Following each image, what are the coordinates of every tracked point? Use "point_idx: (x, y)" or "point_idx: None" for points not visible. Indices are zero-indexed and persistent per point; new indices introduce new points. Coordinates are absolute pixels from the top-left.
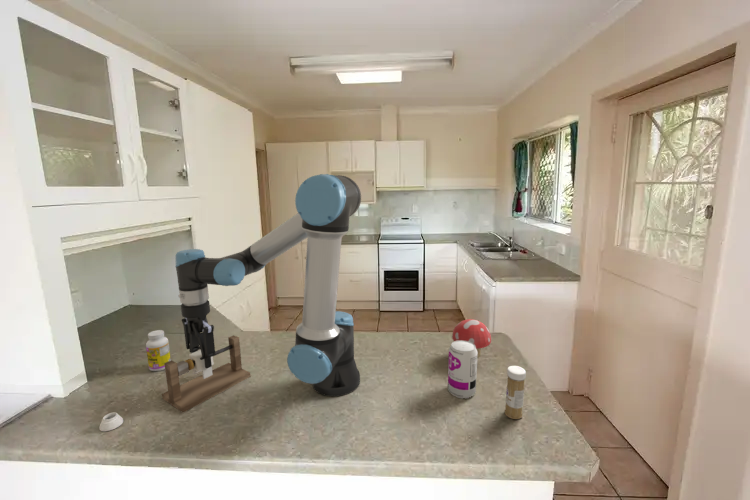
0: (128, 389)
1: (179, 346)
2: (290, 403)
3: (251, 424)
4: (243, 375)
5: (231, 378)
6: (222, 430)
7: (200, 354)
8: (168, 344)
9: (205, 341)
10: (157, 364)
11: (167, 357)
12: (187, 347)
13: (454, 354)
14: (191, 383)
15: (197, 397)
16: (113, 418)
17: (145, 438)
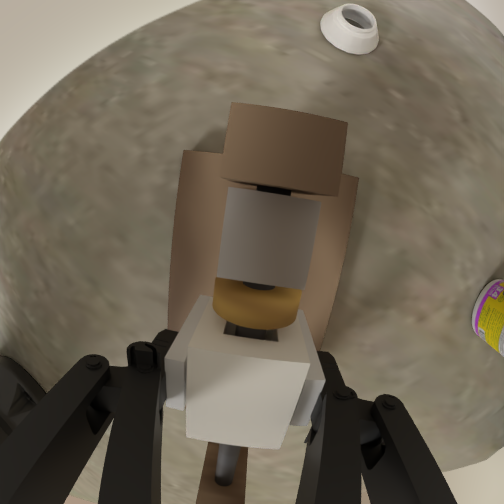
0: (481, 181)
1: (491, 383)
2: (16, 319)
3: (13, 224)
4: None
5: None
6: (39, 172)
7: (212, 392)
8: None
9: (10, 447)
10: (496, 296)
11: (490, 332)
12: (384, 405)
13: None
14: (311, 284)
15: (191, 223)
16: (338, 14)
17: (190, 36)
